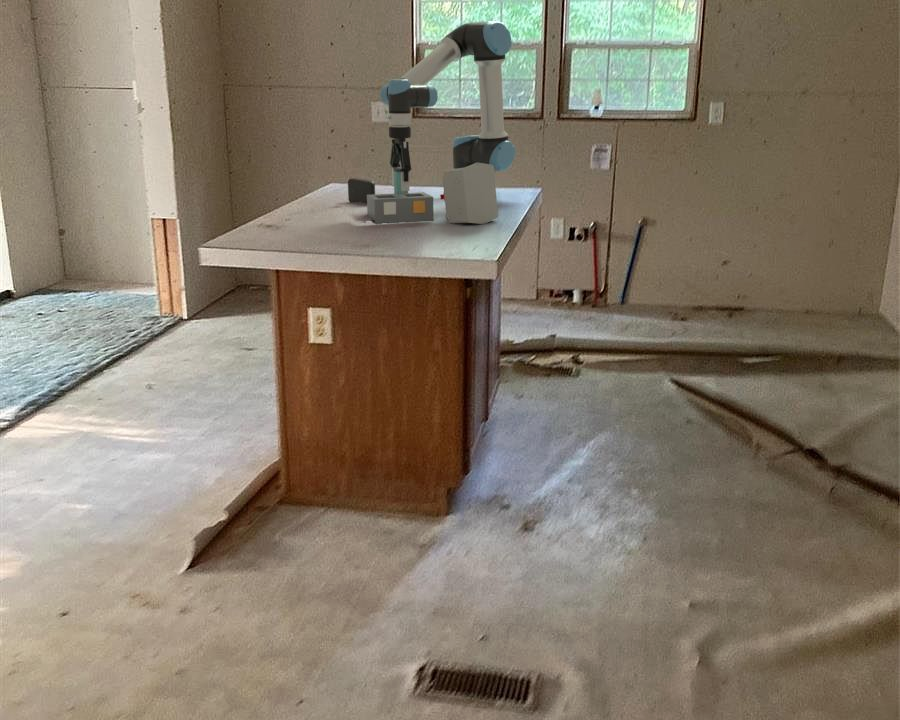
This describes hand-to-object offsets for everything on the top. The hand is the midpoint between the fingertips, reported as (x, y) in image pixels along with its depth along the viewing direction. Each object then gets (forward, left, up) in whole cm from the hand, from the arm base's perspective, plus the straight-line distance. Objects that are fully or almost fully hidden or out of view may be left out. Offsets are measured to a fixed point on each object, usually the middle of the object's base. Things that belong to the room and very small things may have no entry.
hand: (400, 188), depth 313 cm
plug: (0, 0, -7) cm, 7 cm away
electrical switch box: (-17, +23, -9) cm, 30 cm away
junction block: (+4, +14, -9) cm, 17 cm away
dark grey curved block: (+10, -21, -9) cm, 25 cm away
